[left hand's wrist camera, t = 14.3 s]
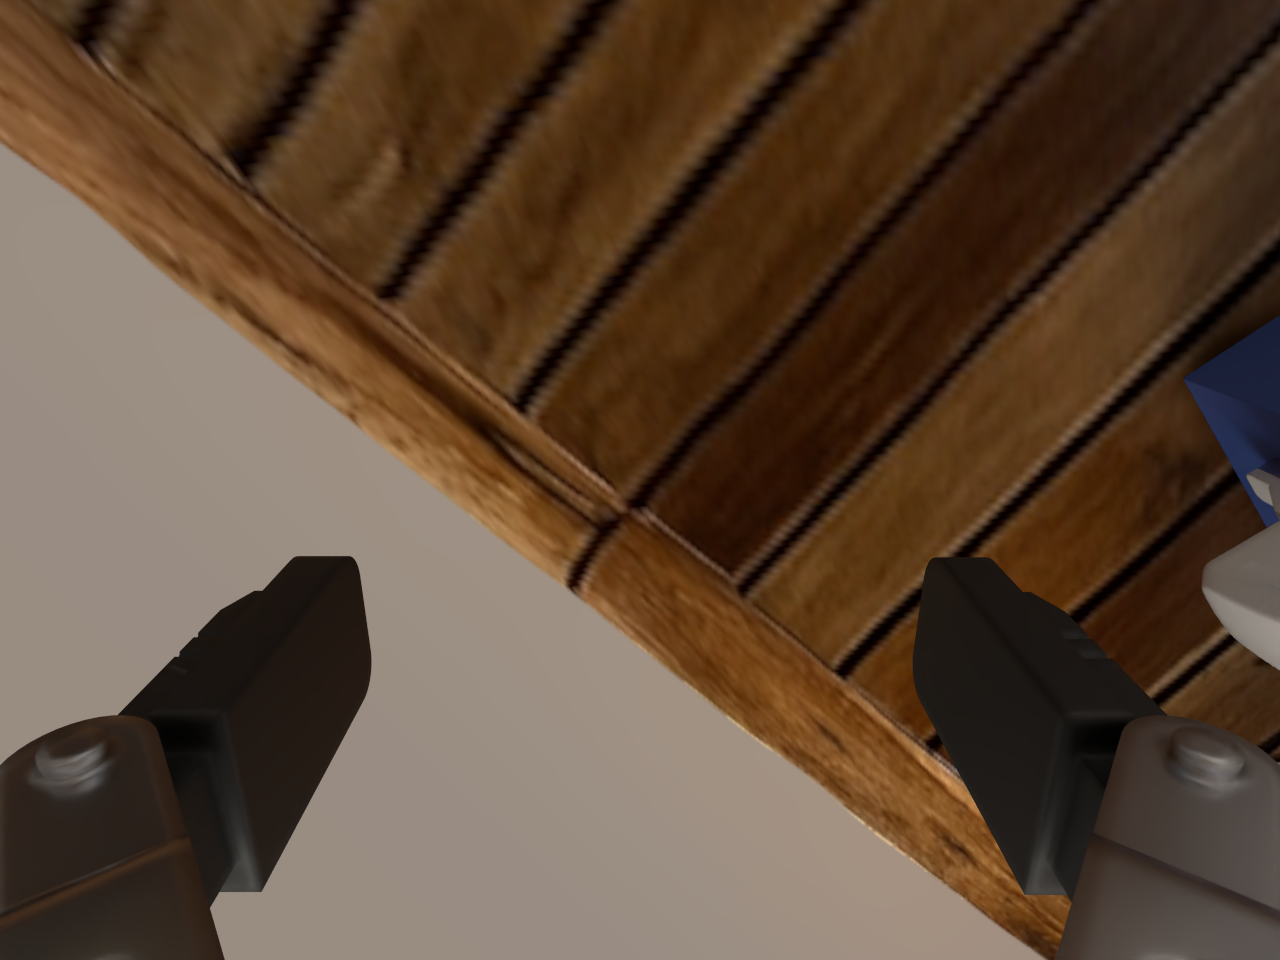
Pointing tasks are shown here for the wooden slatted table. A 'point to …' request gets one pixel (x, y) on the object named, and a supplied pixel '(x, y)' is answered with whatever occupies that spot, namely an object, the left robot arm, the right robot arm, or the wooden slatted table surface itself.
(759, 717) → the wooden slatted table surface
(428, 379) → the wooden slatted table surface
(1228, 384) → the bar
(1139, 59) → the wooden slatted table surface
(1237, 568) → the right robot arm
